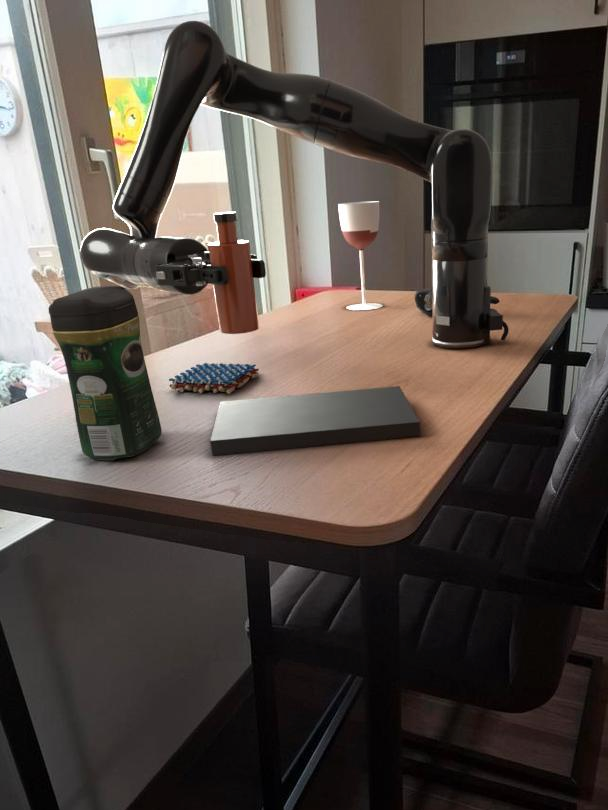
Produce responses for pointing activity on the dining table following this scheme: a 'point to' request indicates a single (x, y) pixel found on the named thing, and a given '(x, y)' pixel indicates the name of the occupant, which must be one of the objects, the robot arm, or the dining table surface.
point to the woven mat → (214, 377)
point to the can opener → (425, 301)
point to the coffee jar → (106, 371)
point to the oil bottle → (233, 278)
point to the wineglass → (360, 236)
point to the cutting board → (313, 420)
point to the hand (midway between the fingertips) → (244, 272)
